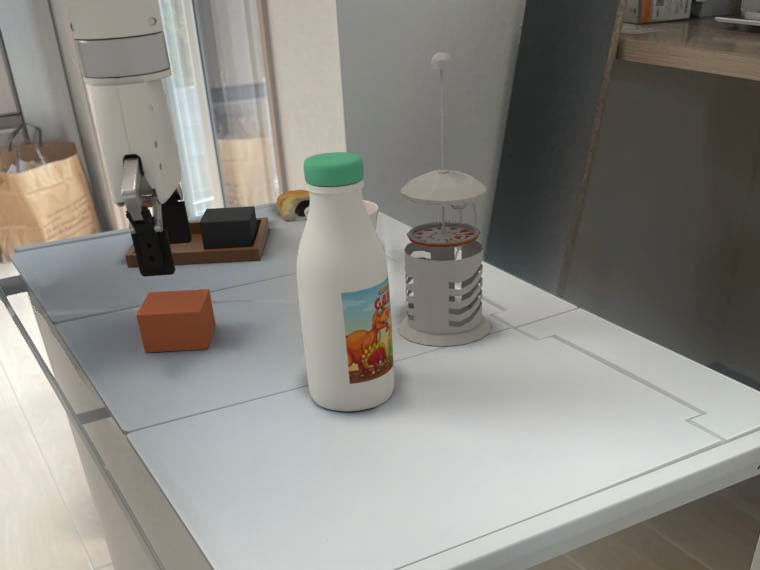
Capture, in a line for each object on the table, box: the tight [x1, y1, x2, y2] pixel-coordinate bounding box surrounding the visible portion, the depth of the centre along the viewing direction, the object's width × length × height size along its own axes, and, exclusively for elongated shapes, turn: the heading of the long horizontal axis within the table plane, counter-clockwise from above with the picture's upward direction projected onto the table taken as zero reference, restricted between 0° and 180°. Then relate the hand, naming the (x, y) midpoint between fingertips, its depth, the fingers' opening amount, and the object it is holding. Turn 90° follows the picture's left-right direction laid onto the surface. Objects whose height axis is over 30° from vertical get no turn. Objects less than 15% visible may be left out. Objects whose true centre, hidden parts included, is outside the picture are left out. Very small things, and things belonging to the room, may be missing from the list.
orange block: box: [135, 288, 217, 354], centre depth 87 cm, size 6×6×4 cm
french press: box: [397, 51, 492, 347], centre depth 81 cm, size 10×12×25 cm
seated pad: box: [199, 205, 258, 250], centre depth 110 cm, size 6×6×4 cm
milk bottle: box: [296, 151, 395, 412], centre depth 70 cm, size 8×8×20 cm
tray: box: [124, 217, 270, 269], centre depth 110 cm, size 17×14×2 cm
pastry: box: [275, 189, 310, 222], centre depth 122 cm, size 9×7×4 cm
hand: (168, 257), depth 83 cm, fingers open, 9 cm apart
